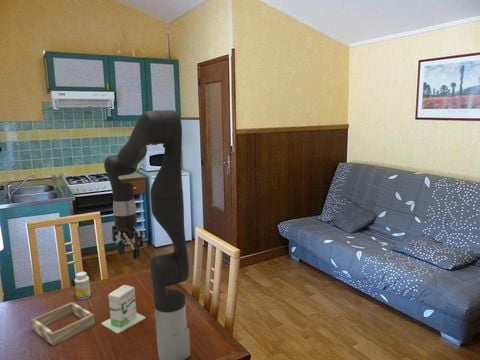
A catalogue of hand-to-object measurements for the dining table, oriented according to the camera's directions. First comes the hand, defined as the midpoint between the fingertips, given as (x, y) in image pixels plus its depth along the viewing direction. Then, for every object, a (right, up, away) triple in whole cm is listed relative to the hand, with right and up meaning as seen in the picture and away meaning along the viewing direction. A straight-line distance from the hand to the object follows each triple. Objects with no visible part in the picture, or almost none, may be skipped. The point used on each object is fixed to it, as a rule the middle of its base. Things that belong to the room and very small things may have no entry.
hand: (128, 256), depth 135 cm
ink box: (-3, -24, +3) cm, 24 cm away
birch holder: (-23, -25, 0) cm, 34 cm away
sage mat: (-3, -24, +3) cm, 25 cm away
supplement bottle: (-25, -21, +22) cm, 39 cm away
